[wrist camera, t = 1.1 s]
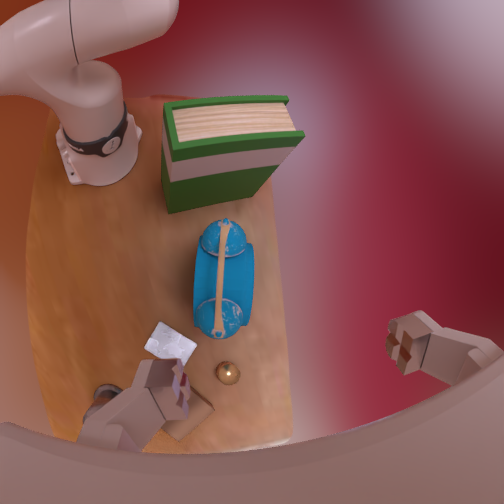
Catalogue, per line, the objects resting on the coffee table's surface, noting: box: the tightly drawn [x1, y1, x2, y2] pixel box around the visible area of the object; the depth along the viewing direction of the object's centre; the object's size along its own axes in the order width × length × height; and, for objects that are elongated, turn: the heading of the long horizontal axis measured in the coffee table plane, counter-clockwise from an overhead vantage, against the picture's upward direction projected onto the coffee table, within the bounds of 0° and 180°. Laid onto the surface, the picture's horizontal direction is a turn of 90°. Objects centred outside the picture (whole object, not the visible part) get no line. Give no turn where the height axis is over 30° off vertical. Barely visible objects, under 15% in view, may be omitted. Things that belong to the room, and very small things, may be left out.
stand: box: [161, 386, 214, 442], centre depth 43 cm, size 10×10×3 cm
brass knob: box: [216, 362, 240, 385], centre depth 48 cm, size 4×4×3 cm
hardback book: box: [161, 95, 305, 214], centre depth 43 cm, size 18×7×24 cm, turn 107°
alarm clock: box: [193, 218, 254, 339], centre depth 42 cm, size 17×10×20 cm, turn 177°
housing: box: [83, 384, 123, 424], centre depth 35 cm, size 7×7×14 cm
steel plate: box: [144, 321, 197, 365], centre depth 47 cm, size 8×6×1 cm
